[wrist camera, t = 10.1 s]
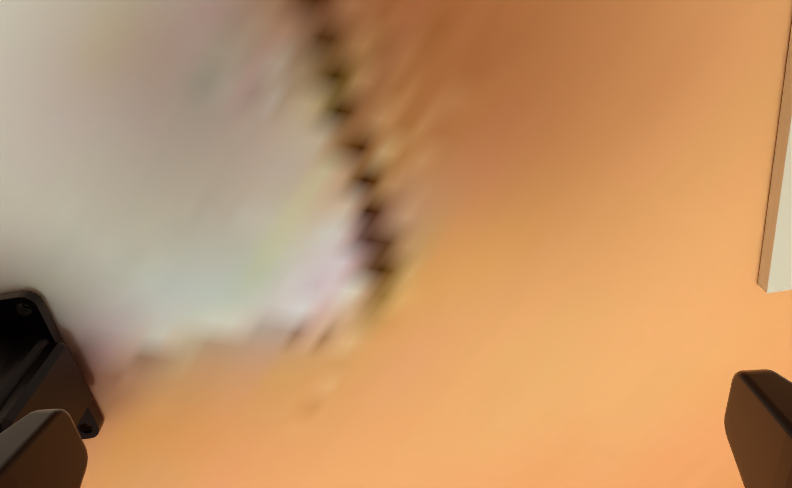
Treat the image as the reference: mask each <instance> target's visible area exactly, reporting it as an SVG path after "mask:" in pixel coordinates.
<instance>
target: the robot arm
mask: <svg viewBox="0 0 792 488" xmlns="http://www.w3.org/2000/svg"><path fill="white" fill-rule="evenodd" d="M22 303H25V304H27V305H29V307H30V308H31V309H28V308H26V307H24V306H23V305H22ZM86 424H88V425H90V426H88V425H86ZM724 424H725V431H726V435H727V438H728V441H729V444H730V447H731V450H732V453H733V455H734V458H735V461H736V464H737V467H738V470H739V472H740V475H741V478H742V481H743V484H744V487H745V488H792V382H790V381H789V380H787V379H786V378H784V377H782V376H781V375H779V374H778V373H776V372H774V371H771V370H766V369H763V370H744V371H739V372H737V373H736V374H735V375H734V377H733V379H732V383H731V388H730V393H729V398H728V403H727V407H726V412H725V418H724ZM102 425H103V420H102V418H101V416H100V414H99V412H98V410H97V408H96V406H95V404H94V402H93V400H92V395H91V393H90V391H89V389H88V387H87V385H86V383H85V381H84V379H83V377H82V375H81V373H80V371H79V369H78V367H77V365H76V363H75V361H74V359H73V357H72V355H71V353H70V351H69V349H68V347H67V346H66V345H65V343H64V341H63V339H62V337H61V335H60V333H59V331H58V329H57V327H56V325H55V323H54V321H53V319H52V317H51V315H50V313H49V311H48V309H47V307H46V305H45V303H44V301H43V300H42V299H41V297H40V296H39V295H37V294H36V293H33V292H30V291H19V292H13V293H6V294H0V488H80V487H81V483H82V480H83V477H84V474H85V471H86V467H87V460H88V456H87V449H86V447H85V445H84V443H83V441H82V439H89V438H93V437H95V436H97V435H98V433H99V432H100V430H101V428H102Z"/></svg>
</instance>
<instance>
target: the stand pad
mask: <svg viewBox="0 0 792 488" xmlns="http://www.w3.org/2000/svg"><path fill="white" fill-rule="evenodd" d="M758 285H759V286H760V287H761V288H762V289H763V290H764V291H765V292H766V293H772V292H779V291H786V290H792V26H791V34H790V42H789V49H788V57H787V64H786V72H785V80H784V87H783V95H782V103H781V110H780V118H779V125H778V133H777V141H776V148H775V156H774V163H773V171H772V179H771V186H770V194H769V202H768V209H767V217H766V224H765V232H764V240H763V247H762V255H761V263H760V270H759V278H758Z"/></svg>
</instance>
